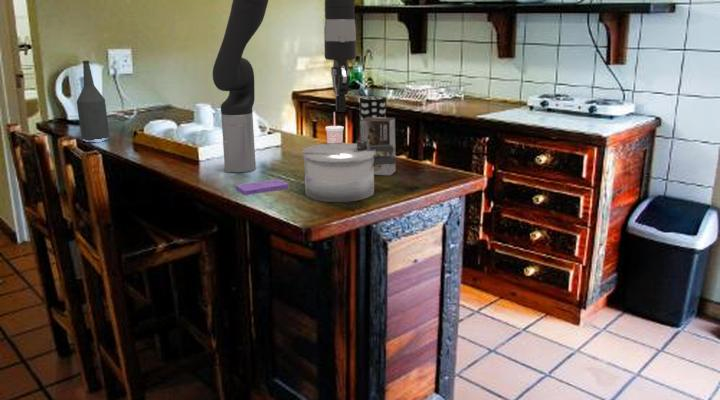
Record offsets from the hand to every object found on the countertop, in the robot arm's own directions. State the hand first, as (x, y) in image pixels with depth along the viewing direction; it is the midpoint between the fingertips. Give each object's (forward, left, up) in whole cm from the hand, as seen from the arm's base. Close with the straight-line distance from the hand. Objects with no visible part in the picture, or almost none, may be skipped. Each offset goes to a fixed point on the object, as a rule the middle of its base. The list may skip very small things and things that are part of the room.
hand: (340, 111), depth 154 cm
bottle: (-78, +99, -22) cm, 128 cm away
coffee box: (+15, +23, -22) cm, 35 cm away
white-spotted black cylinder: (+17, +39, -22) cm, 48 cm away
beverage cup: (+7, +53, -22) cm, 58 cm away
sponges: (-20, +13, -23) cm, 33 cm away
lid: (+2, +4, -12) cm, 13 cm away
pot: (+3, +4, -22) cm, 23 cm away
